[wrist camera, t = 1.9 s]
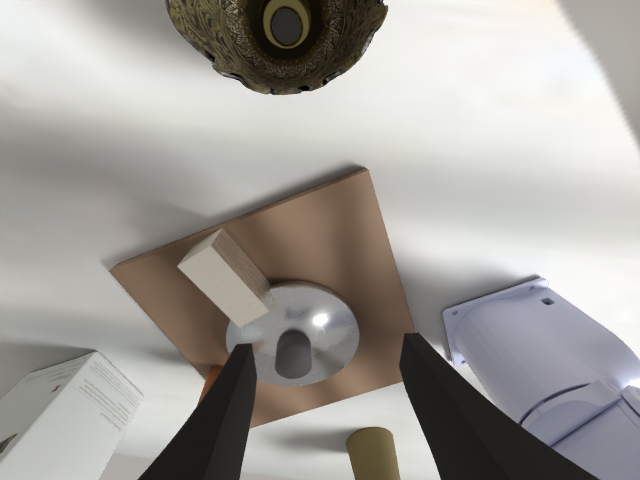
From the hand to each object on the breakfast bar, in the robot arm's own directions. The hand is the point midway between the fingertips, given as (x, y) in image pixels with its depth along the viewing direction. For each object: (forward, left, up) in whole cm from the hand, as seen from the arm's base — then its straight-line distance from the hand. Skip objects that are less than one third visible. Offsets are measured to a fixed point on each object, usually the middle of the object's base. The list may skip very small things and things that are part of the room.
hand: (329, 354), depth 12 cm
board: (+5, +7, -10) cm, 13 cm away
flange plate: (+5, +4, -9) cm, 11 cm away
